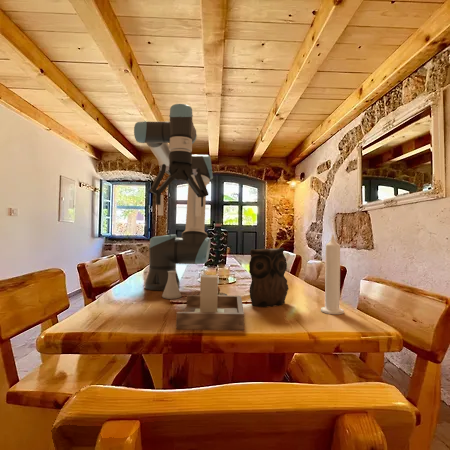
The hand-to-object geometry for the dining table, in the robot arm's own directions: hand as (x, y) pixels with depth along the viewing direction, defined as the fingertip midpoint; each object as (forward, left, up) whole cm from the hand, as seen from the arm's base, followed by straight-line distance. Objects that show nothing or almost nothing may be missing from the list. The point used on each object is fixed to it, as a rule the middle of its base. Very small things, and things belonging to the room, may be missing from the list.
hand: (180, 216), depth 104 cm
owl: (+9, +30, -31) cm, 44 cm away
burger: (-6, +16, -31) cm, 36 cm away
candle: (+29, +41, -31) cm, 59 cm away
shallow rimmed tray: (+15, +4, -31) cm, 34 cm away
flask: (-16, +4, -31) cm, 35 cm away
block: (+14, +3, -29) cm, 33 cm away
